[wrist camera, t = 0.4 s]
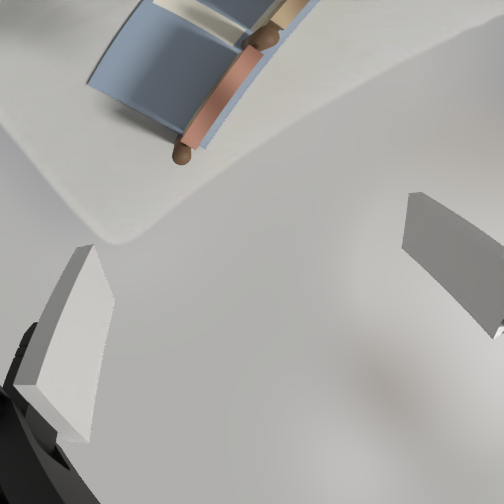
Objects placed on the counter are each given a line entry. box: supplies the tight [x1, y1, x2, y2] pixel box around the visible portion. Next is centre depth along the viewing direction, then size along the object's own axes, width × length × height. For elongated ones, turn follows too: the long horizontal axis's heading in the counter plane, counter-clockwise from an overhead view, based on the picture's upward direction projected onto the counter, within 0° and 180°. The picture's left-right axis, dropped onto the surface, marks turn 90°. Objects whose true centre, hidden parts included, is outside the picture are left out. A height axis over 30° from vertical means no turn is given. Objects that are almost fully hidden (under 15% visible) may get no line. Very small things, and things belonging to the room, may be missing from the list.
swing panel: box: [172, 45, 264, 165], centre depth 26 cm, size 12×2×7 cm, turn 144°
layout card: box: [88, 0, 320, 149], centre depth 25 cm, size 24×15×1 cm, turn 144°
